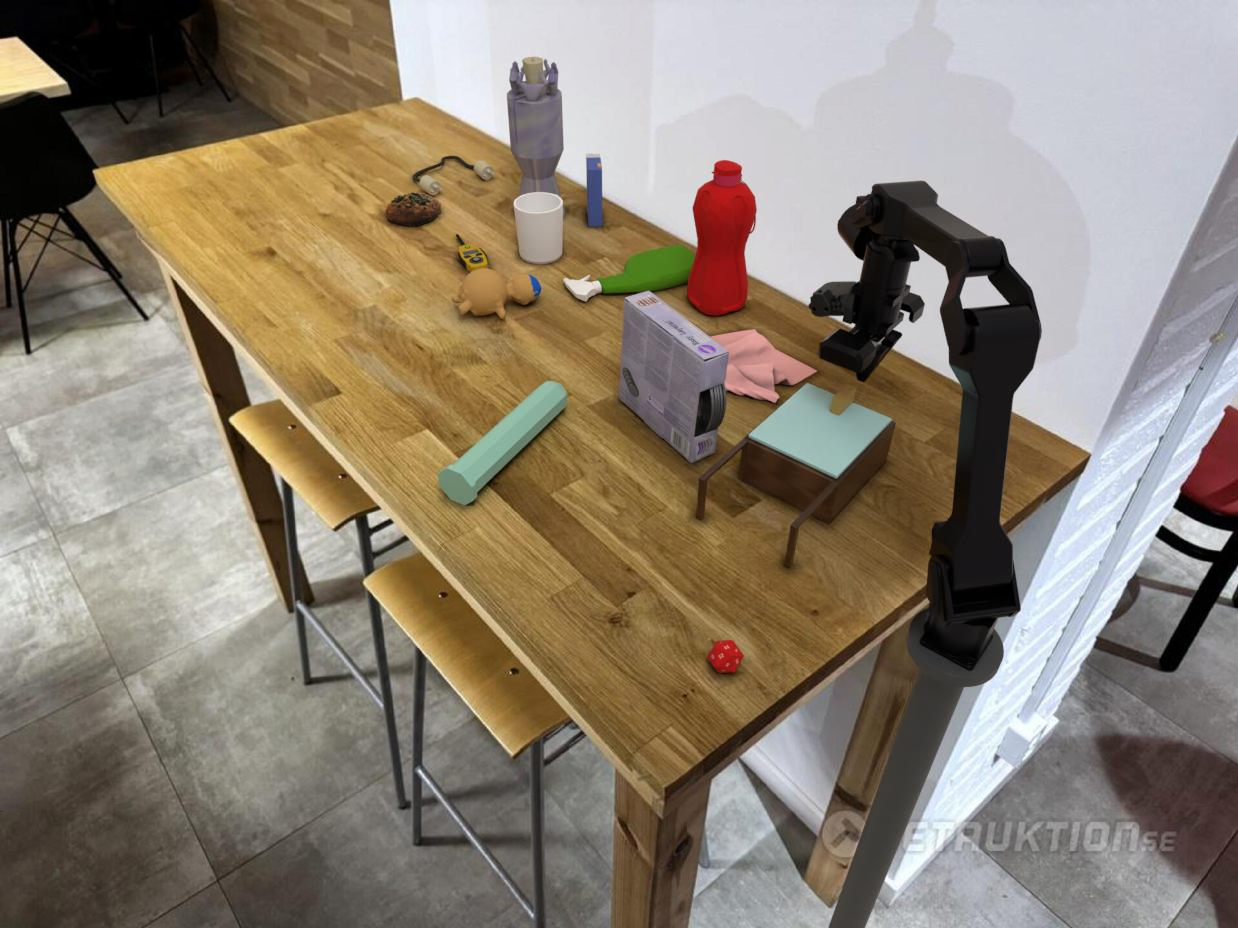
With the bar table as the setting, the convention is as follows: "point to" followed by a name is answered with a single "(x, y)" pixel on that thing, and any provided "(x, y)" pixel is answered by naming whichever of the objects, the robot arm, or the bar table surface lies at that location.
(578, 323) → the bar table surface
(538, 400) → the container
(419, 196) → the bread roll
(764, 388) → the cloth
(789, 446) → the light blue box top
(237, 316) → the bar table surface
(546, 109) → the decorative object
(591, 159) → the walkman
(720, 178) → the water bottle
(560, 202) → the mug
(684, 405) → the cake pan box
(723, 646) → the die
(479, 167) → the cable
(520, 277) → the toy
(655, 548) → the bar table surface
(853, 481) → the display box
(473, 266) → the yellow walkie talkie
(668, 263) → the spray bottle
